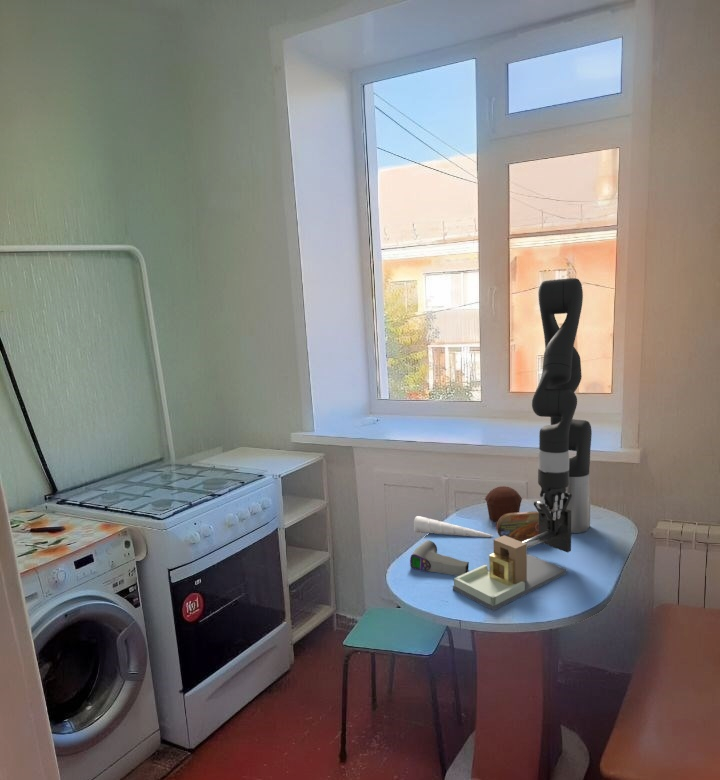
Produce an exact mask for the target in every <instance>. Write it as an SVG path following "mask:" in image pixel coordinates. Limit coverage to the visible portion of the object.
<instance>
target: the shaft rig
mask: <svg viewBox="0 0 720 780" xmlns="http://www.w3.org/2000/svg"><path fill="white" fill-rule="evenodd" d="M506 549H507V550H509V556H508V555H507V554H506ZM527 549H528V548H527V544H526V543H523V542H521V541H518V540H515V539H513V538H510V537H508V536H505V535H504V536H501V537H500V536H499V537H497V538H494V539H493V553H497V554H499V555H502V556H504V557H506V558H509V559H511V560H514V584H512V585H510V586H507V585H505V584H502V583H500V582H498V581H496V580H494V579H492V578H490V574H489V569H488V565H487V564H483V565H481V566H479V567H476V568H474V569H472V570H468V572H467V573H465V574H462V575H460V576H456V577H454V578H453V585H452V590H453V591H454V592H456V593H459V594H461V595H462V596H464V597H467V598H468V599H470V600H472V601H473V602H475V603H478V604H480V605H481V606H484V607H485V608H488V609H489V610H491V611H493V612H494V611H495V610H497V609H499V608H502V607H503V606H505V605H508V604H510V603H512V602H513V601H516V600H517V599H519V598H521V597H523V596H525V595H527V594H529V593H531V592H533V591H535V590H537V589H539V588H541V587H543V586H545V585H547V584H549V583H551V582H553V581H555V580H557V579H559V578H561V577H562V576H564V575H566V574H567V569H566V568H564V567H562V566H559V565H556V564H554V563H551V562H548V561H547V560H545V559H544V560H543V559H541V558H538V557H536V556H534V555H531V554H529V553H527ZM498 564H499V563H498ZM499 573H502V574H504V566H503V565H501V564H499Z"/></svg>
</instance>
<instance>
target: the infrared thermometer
mask: <svg viewBox="0 0 720 780" xmlns="http://www.w3.org/2000/svg"><path fill="white" fill-rule="evenodd" d="M409 566H410V568H411V569H412V570H415V571H421V572H431V573H439V574H445V575H450V576H456V577H458V576H460V575H462V574H465V573H467V572H469V561H465V560H464V561H463V560H461V559H457V558H454V557H451V556H448V555H442V554H441V553H438V547H437V545H436V544H435V542H433V541H432V540H427V539H426V540H424V542H422V543H421V544H420V545H419V546H417V547H416V548H415V549H414V550H413V552H412V553H411V555H410V558H409Z"/></svg>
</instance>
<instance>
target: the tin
mask: <svg viewBox="0 0 720 780" xmlns="http://www.w3.org/2000/svg"><path fill="white" fill-rule="evenodd" d="M496 533H497V534H498V536H499V537H501V536H504V535H505V536H508V537H510V538H513V539H515V540H518V541H521V542H523V541H525V540H527V539H530V538H532V537H534V536H537V535H539V512H538V511H532V510H531V511H519V513H507V514H504V515H503V516H501V517H500V518H499V520H498V522H496Z"/></svg>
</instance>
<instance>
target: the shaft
mask: <svg viewBox="0 0 720 780" xmlns="http://www.w3.org/2000/svg"><path fill="white" fill-rule="evenodd" d="M523 543H526V544H527V549H529V548H533V547H534V546H536V545H538V544H544V545H545V546H548V547H552V548H554V549H557V550H560V551H563V552H565V553H569V552H571V551H572V533H571V510H567V509H566V511H565V513H564V514H563V515H562V514H561V515H560V518H559V521H558V532H557V533H555V534H552V533H549V532H548V531H547V518H543V517H541V515H540V514H539V535H537V536H534V537H532V538H530V539H527V540H525V541H523ZM506 554H507V555H508V556H509V550H507V549H506Z"/></svg>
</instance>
